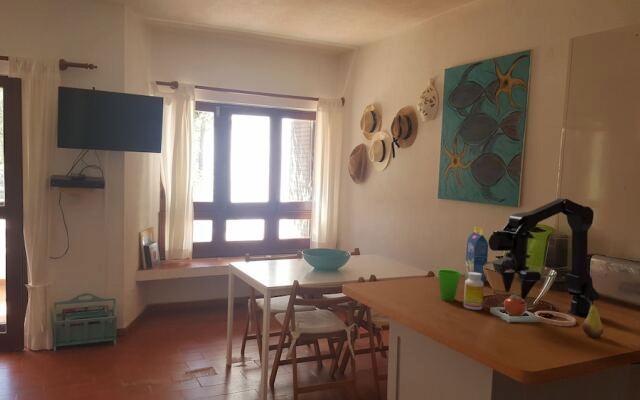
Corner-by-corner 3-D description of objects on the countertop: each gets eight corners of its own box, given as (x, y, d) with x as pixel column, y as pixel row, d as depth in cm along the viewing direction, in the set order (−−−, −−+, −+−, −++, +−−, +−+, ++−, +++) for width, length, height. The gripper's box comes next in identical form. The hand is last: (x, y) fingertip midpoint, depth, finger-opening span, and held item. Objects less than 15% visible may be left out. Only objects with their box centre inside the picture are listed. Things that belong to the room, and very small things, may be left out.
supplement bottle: (483, 311, 173) (485, 276, 172) (464, 309, 174) (466, 274, 174) (480, 306, 179) (483, 272, 179) (462, 304, 181) (464, 270, 180)
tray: (518, 312, 174) (518, 307, 174) (539, 322, 163) (539, 316, 162) (490, 312, 171) (490, 307, 171) (508, 322, 160) (509, 317, 160)
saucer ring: (557, 314, 173) (558, 310, 173) (583, 325, 161) (583, 321, 161) (526, 314, 171) (527, 311, 171) (550, 326, 158) (551, 322, 158)
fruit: (594, 340, 146) (598, 301, 146) (578, 334, 151) (581, 296, 151) (607, 338, 148) (610, 300, 148) (590, 332, 154) (593, 295, 153)
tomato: (519, 320, 162) (521, 296, 161) (498, 314, 167) (500, 291, 167) (529, 316, 166) (531, 294, 166) (509, 311, 172) (511, 289, 172)
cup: (432, 295, 192) (434, 268, 191) (454, 296, 193) (456, 269, 192) (440, 302, 183) (442, 273, 182) (463, 302, 184) (465, 274, 183)
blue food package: (472, 283, 219) (475, 229, 218) (464, 277, 231) (467, 226, 230) (485, 283, 219) (489, 229, 218) (477, 278, 231) (480, 226, 230)
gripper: (482, 246, 173) (479, 288, 174) (513, 255, 155) (510, 302, 156) (510, 246, 175) (507, 288, 176) (543, 255, 157) (540, 302, 158)
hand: (515, 295), depth 166 cm, fingers open, 9 cm apart
